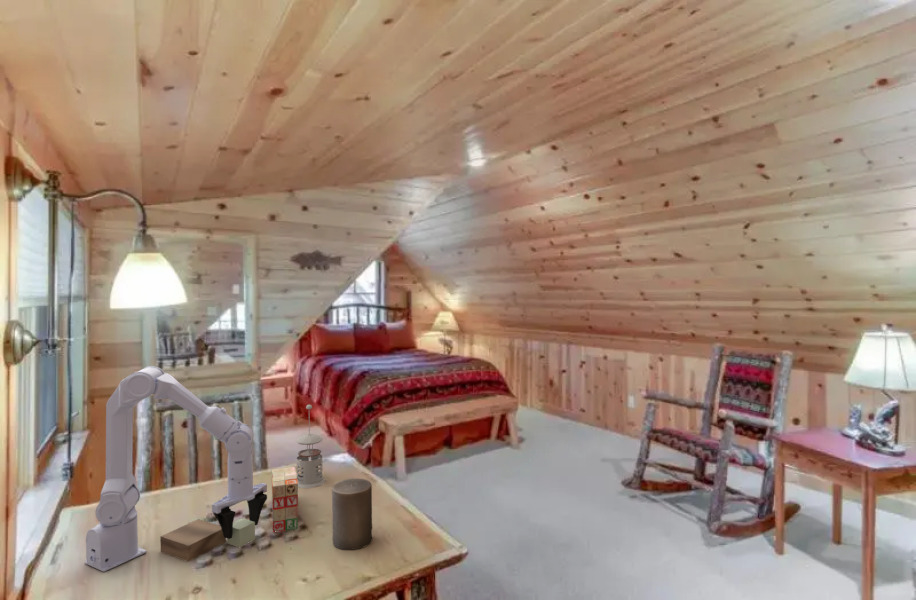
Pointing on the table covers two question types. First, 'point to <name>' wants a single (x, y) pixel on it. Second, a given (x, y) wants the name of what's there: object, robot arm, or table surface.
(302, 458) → the french press
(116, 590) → the table surface
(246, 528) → the sage cube
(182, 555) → the walnut block
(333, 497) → the pillar candle
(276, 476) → the stack of blocks
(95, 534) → the robot arm
